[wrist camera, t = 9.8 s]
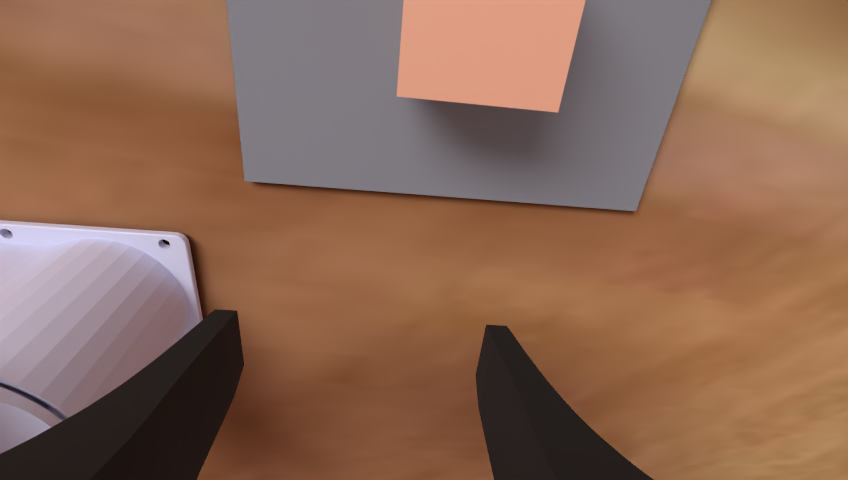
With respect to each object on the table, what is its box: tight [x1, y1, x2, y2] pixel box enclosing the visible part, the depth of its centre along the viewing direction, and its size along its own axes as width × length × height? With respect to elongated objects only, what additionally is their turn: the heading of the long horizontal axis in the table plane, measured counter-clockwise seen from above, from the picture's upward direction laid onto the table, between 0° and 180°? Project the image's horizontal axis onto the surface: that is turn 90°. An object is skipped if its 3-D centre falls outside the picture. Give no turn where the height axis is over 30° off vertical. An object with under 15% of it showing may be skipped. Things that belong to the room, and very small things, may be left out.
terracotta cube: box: [397, 0, 586, 112], centre depth 15 cm, size 5×5×5 cm
